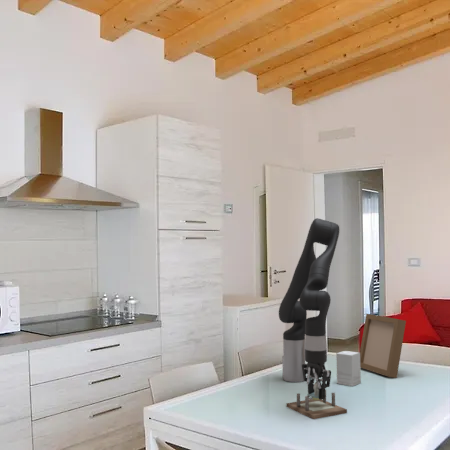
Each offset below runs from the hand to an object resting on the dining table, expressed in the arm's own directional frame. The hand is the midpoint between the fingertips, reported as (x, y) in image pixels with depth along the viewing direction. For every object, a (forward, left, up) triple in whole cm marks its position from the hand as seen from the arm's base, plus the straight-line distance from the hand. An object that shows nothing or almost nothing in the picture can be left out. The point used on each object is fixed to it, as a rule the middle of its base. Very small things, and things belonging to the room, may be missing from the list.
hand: (316, 396), depth 191 cm
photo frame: (-31, +62, -5) cm, 69 cm away
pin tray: (0, 0, -4) cm, 4 cm away
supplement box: (-23, +34, -5) cm, 41 cm away
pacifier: (-1, 0, -1) cm, 1 cm away
